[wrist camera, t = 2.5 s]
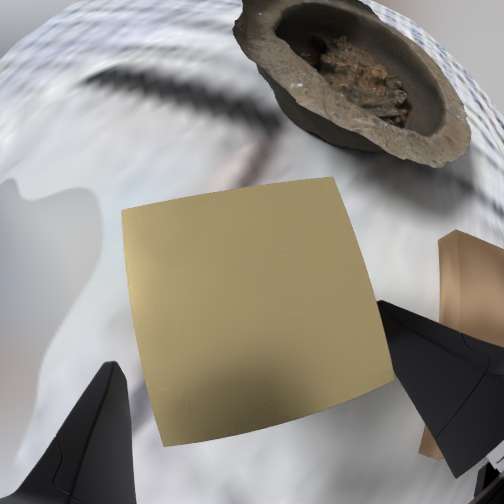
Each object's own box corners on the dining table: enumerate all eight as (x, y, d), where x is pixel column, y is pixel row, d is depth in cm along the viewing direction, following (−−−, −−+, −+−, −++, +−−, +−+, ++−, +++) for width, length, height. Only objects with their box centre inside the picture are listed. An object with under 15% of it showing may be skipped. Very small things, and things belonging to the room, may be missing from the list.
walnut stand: (506, 429, 16) (522, 430, 14) (418, 452, 16) (437, 459, 13) (516, 268, 22) (531, 262, 20) (438, 240, 22) (455, 229, 19)
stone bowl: (224, 29, 28) (236, -32, 19) (394, 70, 33) (423, 27, 24) (215, 190, 20) (235, 84, 11) (460, 218, 25) (522, 177, 16)
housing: (285, 363, 17) (395, 380, 6) (197, 383, 16) (164, 447, 5) (264, 280, 19) (332, 176, 8) (179, 297, 18) (121, 209, 6)
